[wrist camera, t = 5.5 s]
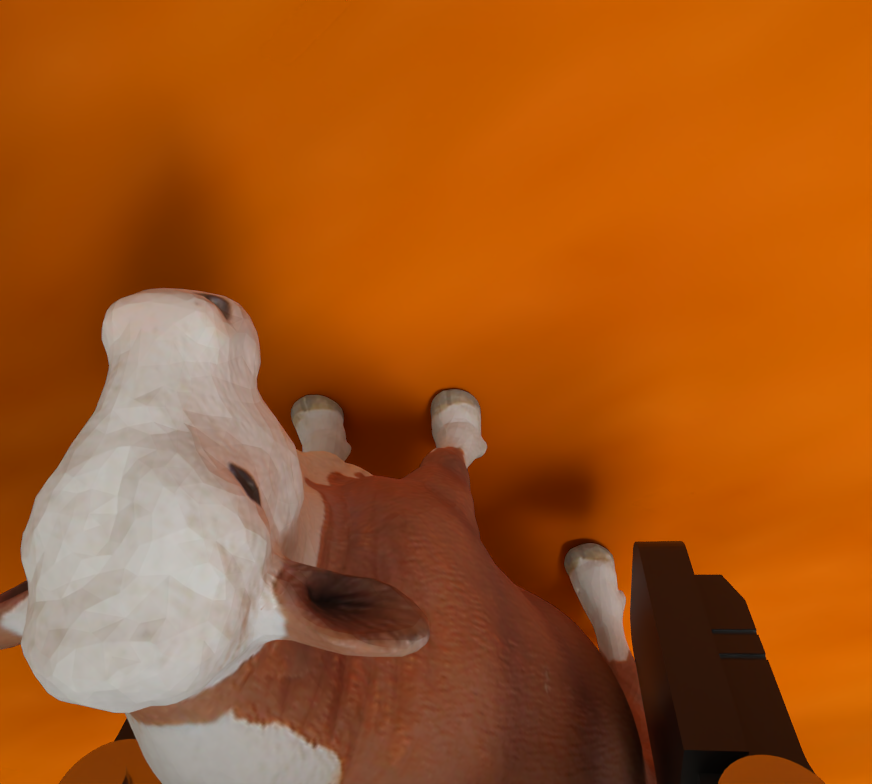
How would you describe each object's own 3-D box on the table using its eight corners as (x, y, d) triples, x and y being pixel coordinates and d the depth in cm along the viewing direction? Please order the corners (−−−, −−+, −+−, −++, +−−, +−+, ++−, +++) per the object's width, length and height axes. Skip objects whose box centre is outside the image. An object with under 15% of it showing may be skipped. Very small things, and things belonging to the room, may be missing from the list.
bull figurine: (359, 118, 11) (66, 361, 4) (699, 667, 16) (850, 1212, 9) (152, 257, 12) (-342, 622, 5) (524, 719, 17) (533, 1225, 10)
